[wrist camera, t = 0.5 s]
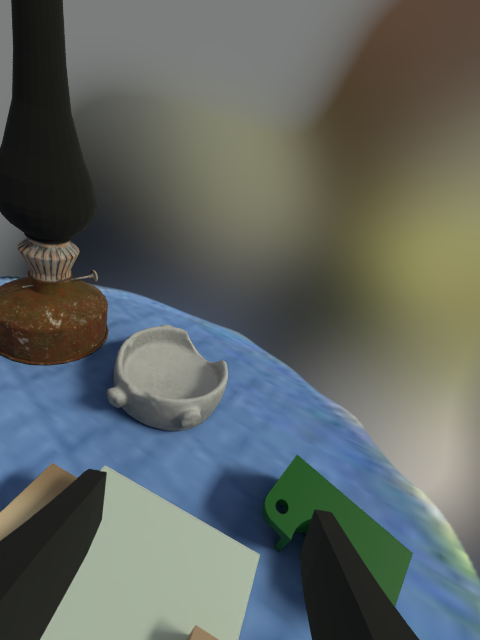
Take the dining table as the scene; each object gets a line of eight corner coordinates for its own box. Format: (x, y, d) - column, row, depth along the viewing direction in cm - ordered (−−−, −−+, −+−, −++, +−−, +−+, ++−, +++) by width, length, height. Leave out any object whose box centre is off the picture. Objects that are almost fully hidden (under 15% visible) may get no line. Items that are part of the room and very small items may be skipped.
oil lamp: (20, 398, 36) (-189, -275, 9) (-31, 315, 40) (-263, -280, 14) (127, 349, 45) (179, -50, 18) (75, 286, 50) (57, -101, 23)
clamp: (258, 549, 30) (242, 494, 26) (291, 500, 34) (281, 446, 30) (383, 659, 22) (388, 606, 18) (408, 581, 26) (417, 521, 22)
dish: (152, 340, 46) (157, 313, 43) (234, 380, 44) (244, 354, 41) (78, 402, 33) (78, 370, 31) (187, 461, 31) (197, 431, 29)
